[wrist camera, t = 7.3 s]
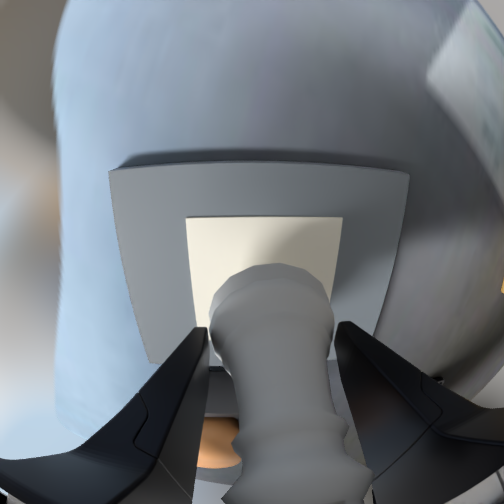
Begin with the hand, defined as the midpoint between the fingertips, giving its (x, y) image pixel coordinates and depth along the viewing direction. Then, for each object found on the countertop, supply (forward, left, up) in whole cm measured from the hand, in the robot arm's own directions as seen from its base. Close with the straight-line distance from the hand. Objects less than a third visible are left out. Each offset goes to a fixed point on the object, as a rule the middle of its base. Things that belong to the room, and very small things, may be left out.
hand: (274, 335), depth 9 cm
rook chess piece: (0, 0, -2) cm, 2 cm away
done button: (+3, +9, -2) cm, 10 cm away
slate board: (0, 0, -4) cm, 4 cm away
